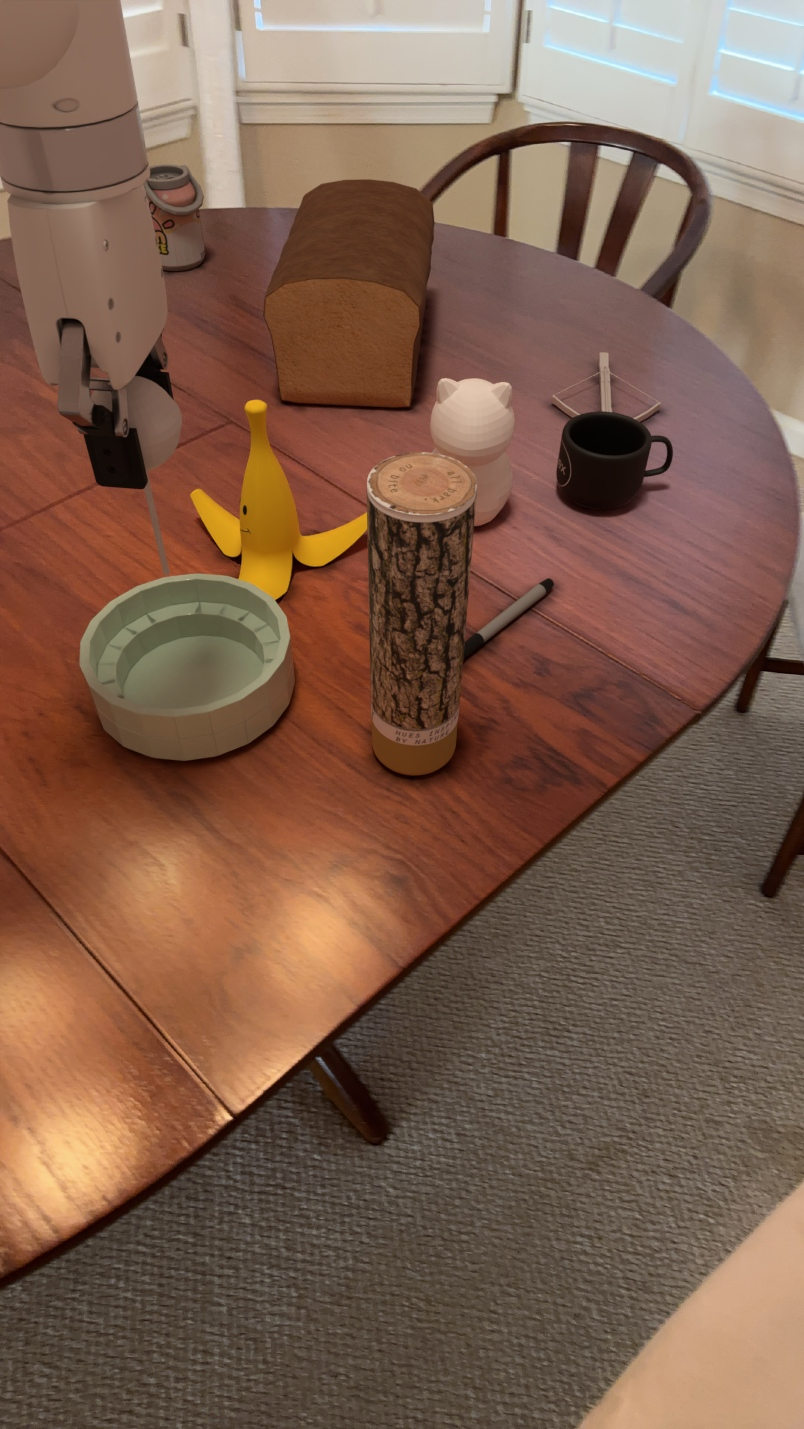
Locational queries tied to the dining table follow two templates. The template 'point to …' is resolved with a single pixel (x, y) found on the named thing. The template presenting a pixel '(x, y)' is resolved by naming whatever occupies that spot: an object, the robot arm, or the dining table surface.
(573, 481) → the mug
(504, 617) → the pen
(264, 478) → the banana peel
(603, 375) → the crossbow
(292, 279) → the bread
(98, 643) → the bowl
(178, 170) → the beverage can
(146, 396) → the lollipop
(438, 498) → the paper tube
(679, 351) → the dining table surface
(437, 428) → the cat figurine
